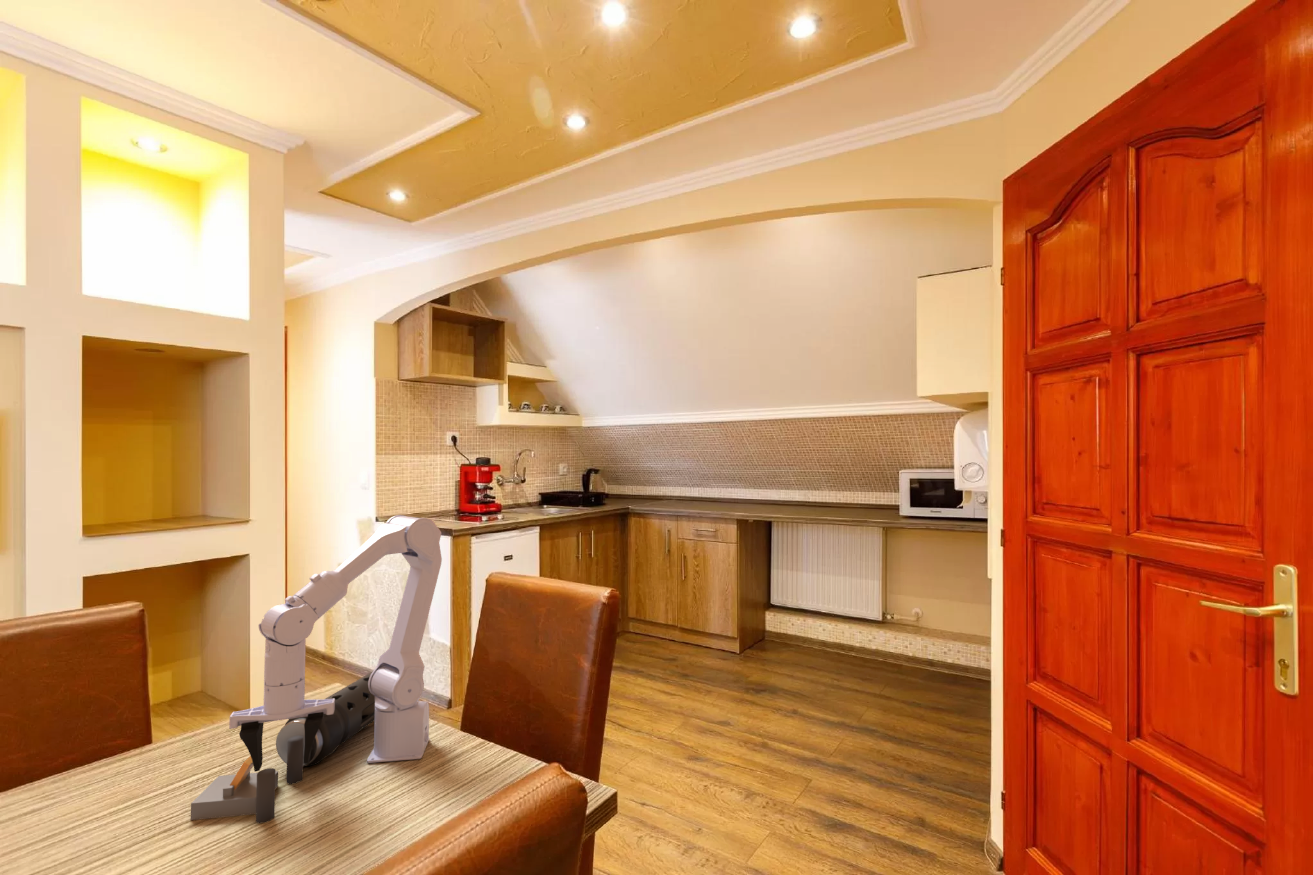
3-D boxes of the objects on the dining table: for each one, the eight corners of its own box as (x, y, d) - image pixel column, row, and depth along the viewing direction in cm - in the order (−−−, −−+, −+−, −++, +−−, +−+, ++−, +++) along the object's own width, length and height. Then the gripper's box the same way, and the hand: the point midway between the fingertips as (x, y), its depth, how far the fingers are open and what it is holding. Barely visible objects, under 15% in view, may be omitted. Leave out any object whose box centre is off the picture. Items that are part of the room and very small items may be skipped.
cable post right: (304, 775, 105) (305, 735, 105) (299, 783, 102) (300, 741, 102) (289, 777, 104) (290, 736, 104) (283, 784, 102) (284, 742, 102)
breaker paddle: (245, 778, 99) (260, 753, 99) (233, 790, 95) (249, 765, 95) (239, 775, 98) (254, 750, 99) (227, 788, 95) (243, 762, 95)
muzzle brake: (362, 704, 134) (405, 710, 133) (265, 767, 106) (318, 776, 105) (366, 661, 134) (409, 667, 133) (270, 712, 107) (323, 721, 105)
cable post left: (277, 812, 94) (278, 767, 94) (270, 822, 91) (271, 775, 92) (260, 814, 93) (261, 768, 94) (252, 823, 91) (253, 777, 91)
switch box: (277, 785, 101) (278, 763, 101) (255, 813, 93) (256, 789, 94) (218, 791, 100) (219, 767, 100) (190, 819, 92) (191, 794, 92)
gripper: (337, 666, 105) (335, 745, 104) (238, 677, 99) (236, 761, 99) (332, 680, 98) (330, 764, 98) (226, 693, 93) (224, 782, 92)
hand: (282, 764), depth 98 cm, fingers open, 6 cm apart
